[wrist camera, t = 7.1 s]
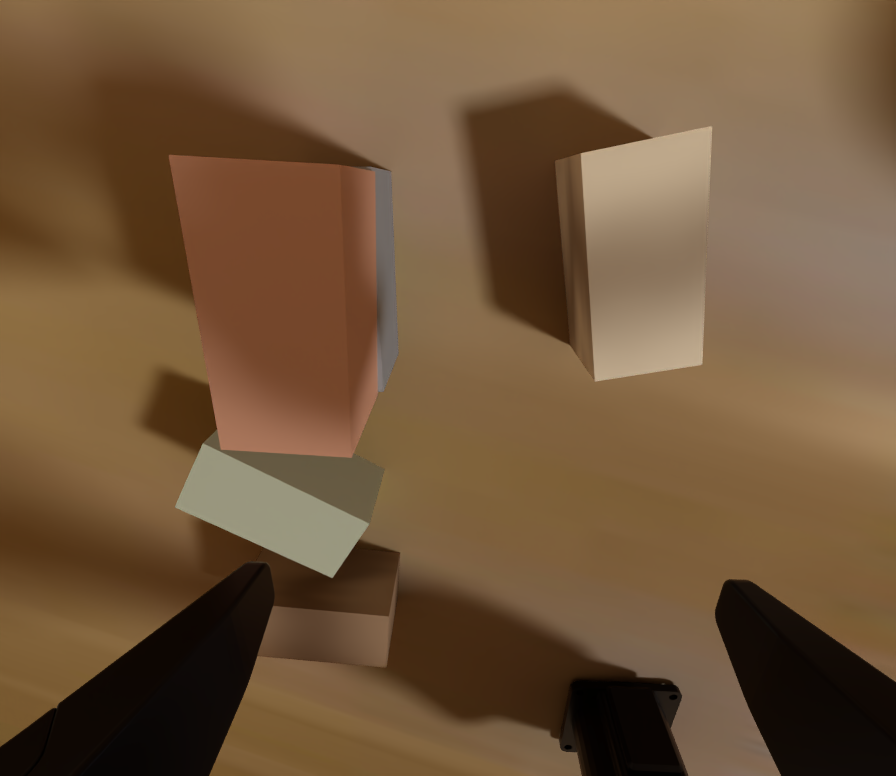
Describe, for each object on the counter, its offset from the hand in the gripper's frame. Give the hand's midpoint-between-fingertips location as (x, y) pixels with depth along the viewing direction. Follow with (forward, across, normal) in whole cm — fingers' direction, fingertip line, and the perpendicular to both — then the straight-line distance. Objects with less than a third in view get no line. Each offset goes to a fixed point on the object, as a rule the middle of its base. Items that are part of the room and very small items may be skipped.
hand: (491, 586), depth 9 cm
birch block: (+12, -5, -5) cm, 14 cm away
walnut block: (+12, +7, +12) cm, 18 cm away
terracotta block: (+7, +5, -4) cm, 10 cm away
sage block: (+12, +8, +4) cm, 15 cm away
